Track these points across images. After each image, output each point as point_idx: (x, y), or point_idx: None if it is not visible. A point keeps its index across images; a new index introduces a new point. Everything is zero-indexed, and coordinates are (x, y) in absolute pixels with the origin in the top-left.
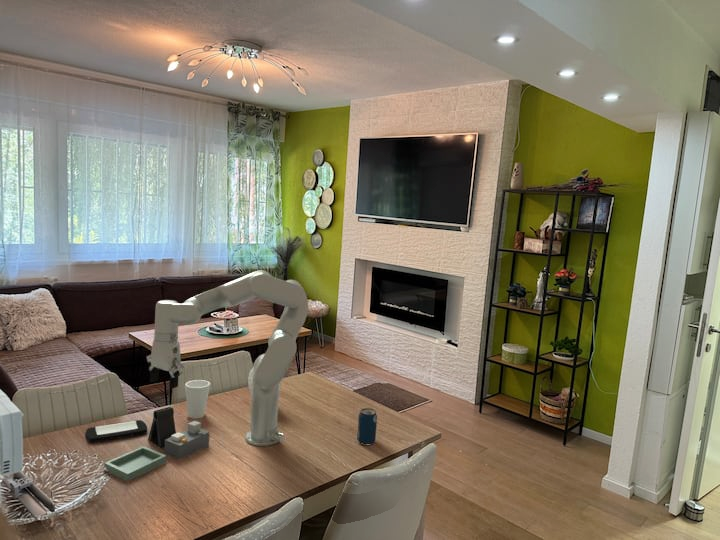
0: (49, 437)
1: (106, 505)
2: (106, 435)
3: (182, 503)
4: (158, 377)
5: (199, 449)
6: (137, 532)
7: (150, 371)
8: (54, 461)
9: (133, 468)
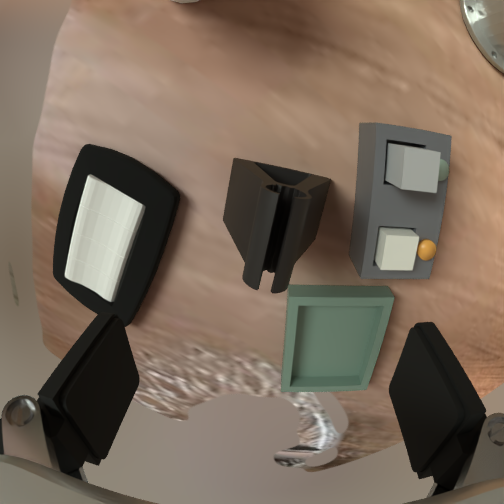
0: (57, 335)
1: (380, 418)
2: (130, 297)
3: (486, 354)
4: (108, 336)
5: None
6: None
7: (88, 458)
8: (164, 392)
9: (340, 353)
